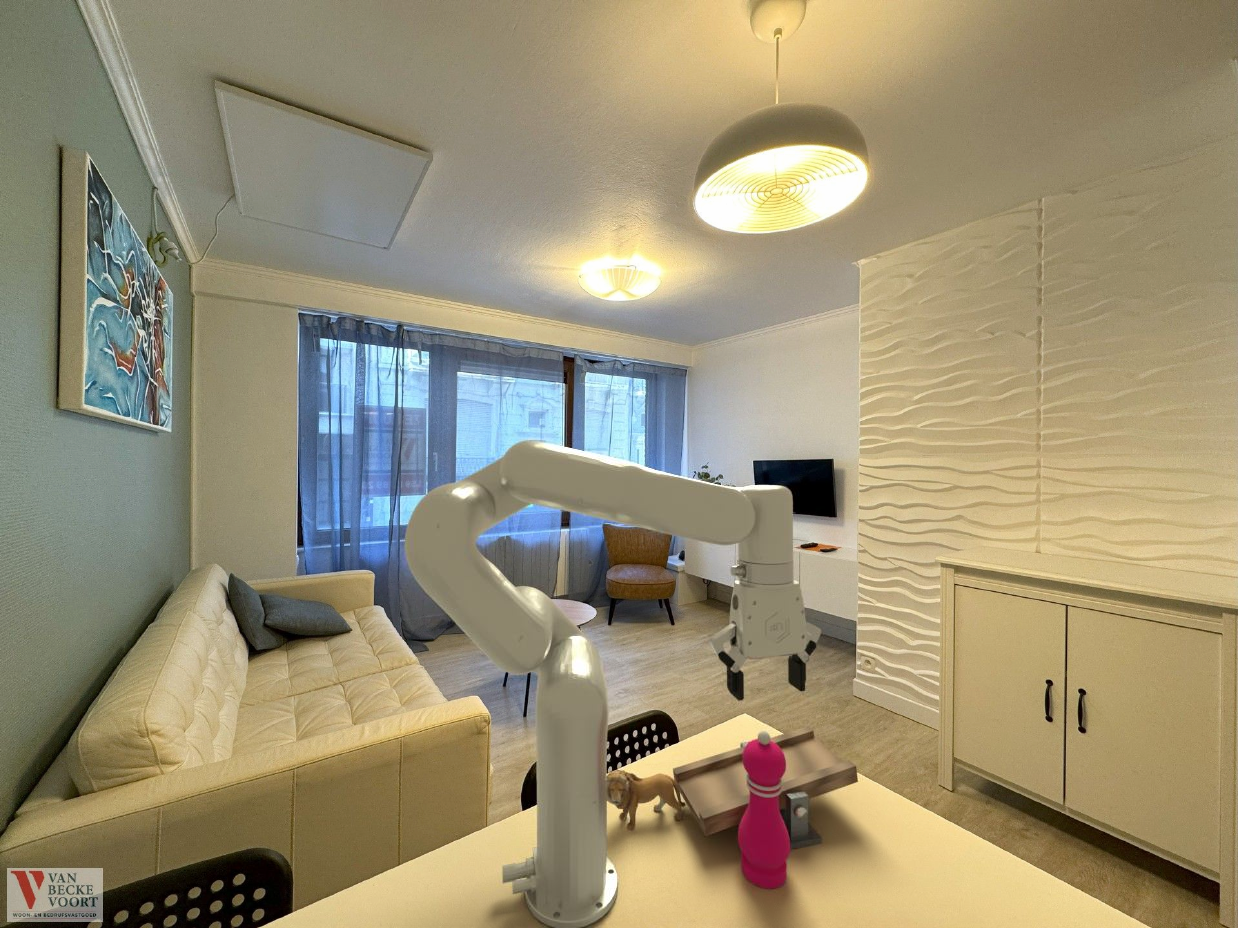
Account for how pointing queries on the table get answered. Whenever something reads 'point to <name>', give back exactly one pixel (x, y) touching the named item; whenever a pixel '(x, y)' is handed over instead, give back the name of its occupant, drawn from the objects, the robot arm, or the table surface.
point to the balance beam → (722, 779)
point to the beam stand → (798, 820)
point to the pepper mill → (764, 815)
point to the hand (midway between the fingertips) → (766, 691)
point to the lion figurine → (641, 793)
